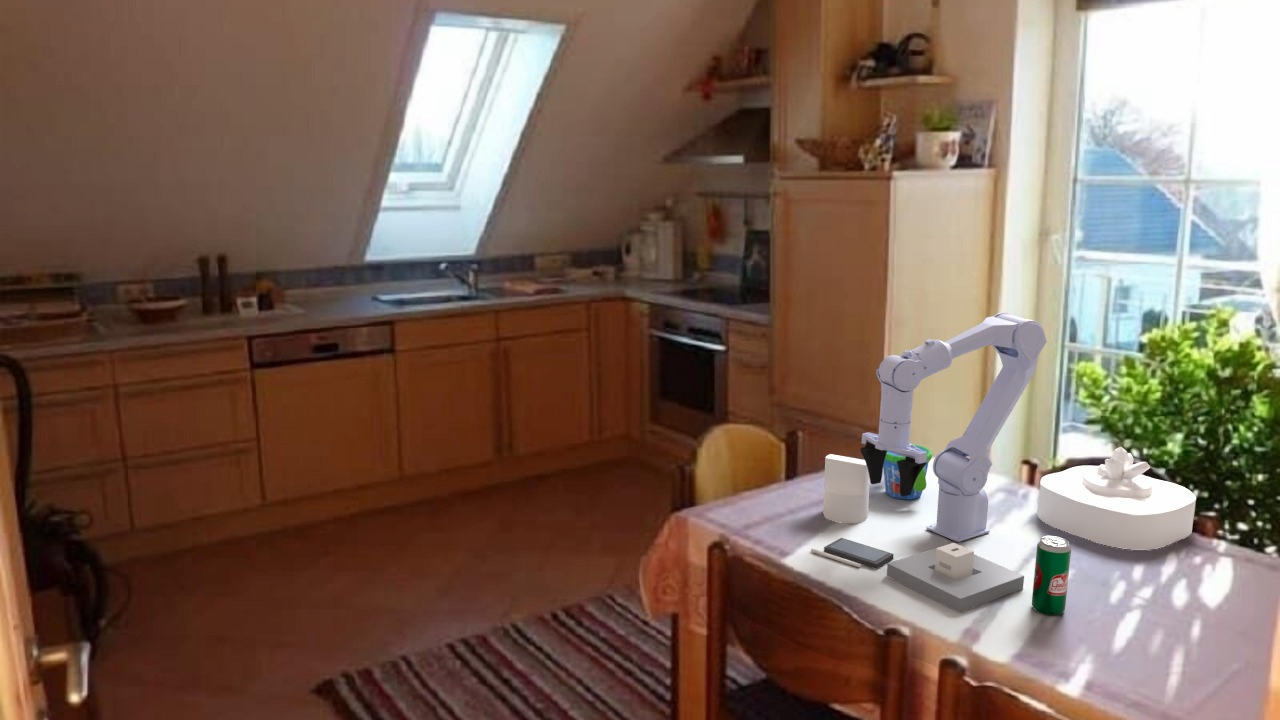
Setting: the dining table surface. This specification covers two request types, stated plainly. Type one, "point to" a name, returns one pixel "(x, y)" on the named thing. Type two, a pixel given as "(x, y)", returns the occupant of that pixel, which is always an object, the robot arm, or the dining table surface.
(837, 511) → the white rounded block
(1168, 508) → the tissue box
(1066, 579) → the soda can
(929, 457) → the snack cup
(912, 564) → the socket plate
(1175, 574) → the dining table surface
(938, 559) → the brick
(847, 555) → the tablet with stylus
